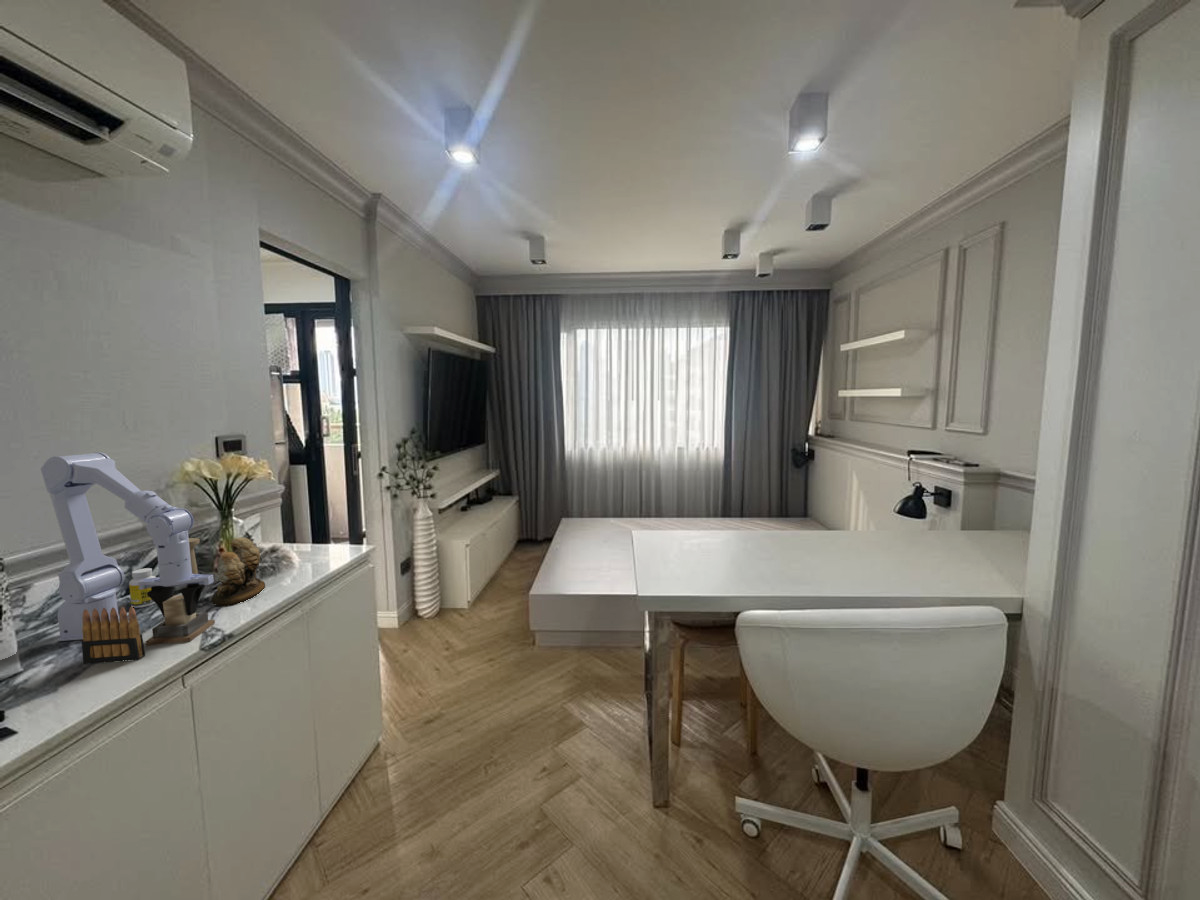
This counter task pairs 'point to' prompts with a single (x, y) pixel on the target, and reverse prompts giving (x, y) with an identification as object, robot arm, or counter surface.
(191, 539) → the handle
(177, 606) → the square peg
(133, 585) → the supplement bottle
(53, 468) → the robot arm
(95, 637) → the ammunition clip
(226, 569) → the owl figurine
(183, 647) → the counter surface
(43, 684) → the counter surface
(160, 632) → the socket
